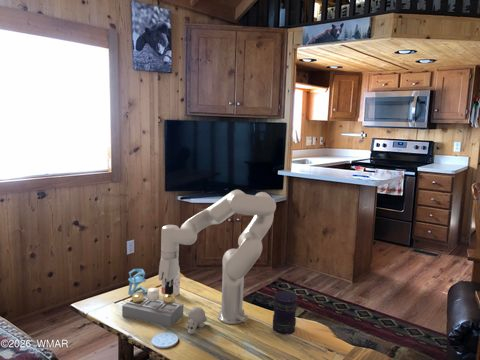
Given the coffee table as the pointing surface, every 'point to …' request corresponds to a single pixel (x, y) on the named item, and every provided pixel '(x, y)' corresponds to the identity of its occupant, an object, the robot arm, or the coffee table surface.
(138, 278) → the chair
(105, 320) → the coffee table surface
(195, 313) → the round bodied animal figurine
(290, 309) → the storage jar
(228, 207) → the robot arm
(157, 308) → the grey compartment tray
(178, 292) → the ink cartridge box
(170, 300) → the brass knob near
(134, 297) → the brass knob far
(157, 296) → the white knob middle
